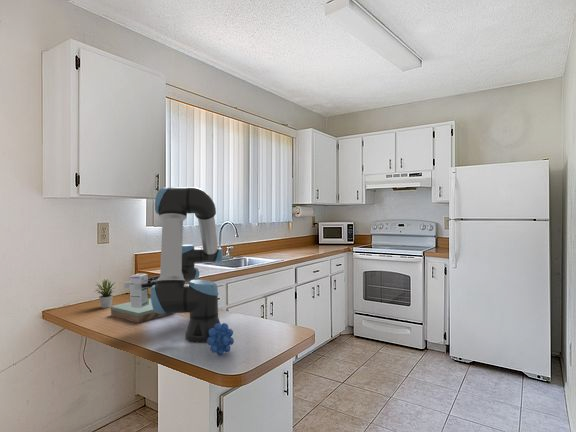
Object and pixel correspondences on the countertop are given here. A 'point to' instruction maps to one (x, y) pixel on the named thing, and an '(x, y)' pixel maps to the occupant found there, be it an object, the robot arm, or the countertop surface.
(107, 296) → the house plant
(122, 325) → the countertop surface
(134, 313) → the lid
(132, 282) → the syrup box
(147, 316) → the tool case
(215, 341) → the grapes
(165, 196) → the robot arm
